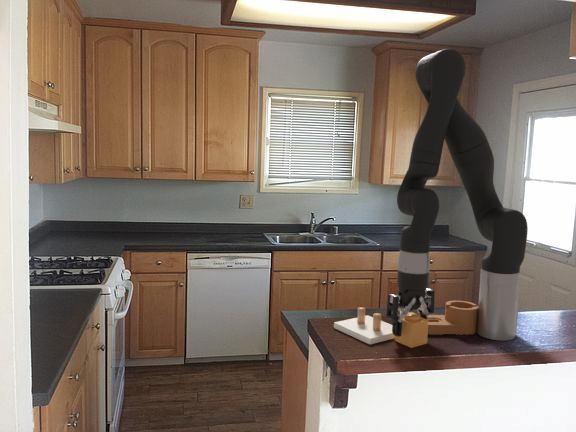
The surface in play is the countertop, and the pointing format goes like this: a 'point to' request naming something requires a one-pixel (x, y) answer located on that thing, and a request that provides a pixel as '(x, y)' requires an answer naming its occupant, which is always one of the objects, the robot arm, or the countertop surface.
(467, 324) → the bracket
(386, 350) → the countertop surface
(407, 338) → the cube with dome top
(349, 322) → the plate
